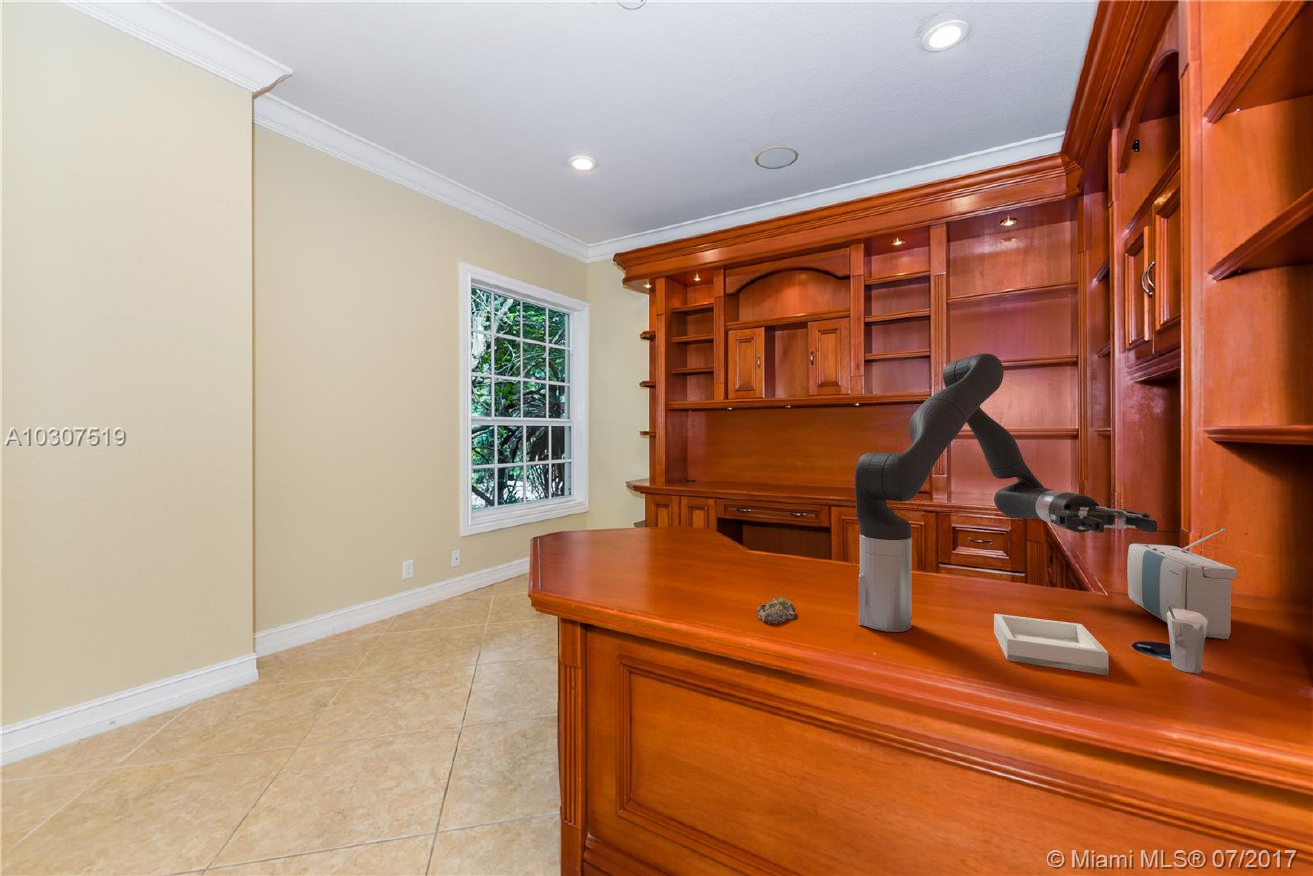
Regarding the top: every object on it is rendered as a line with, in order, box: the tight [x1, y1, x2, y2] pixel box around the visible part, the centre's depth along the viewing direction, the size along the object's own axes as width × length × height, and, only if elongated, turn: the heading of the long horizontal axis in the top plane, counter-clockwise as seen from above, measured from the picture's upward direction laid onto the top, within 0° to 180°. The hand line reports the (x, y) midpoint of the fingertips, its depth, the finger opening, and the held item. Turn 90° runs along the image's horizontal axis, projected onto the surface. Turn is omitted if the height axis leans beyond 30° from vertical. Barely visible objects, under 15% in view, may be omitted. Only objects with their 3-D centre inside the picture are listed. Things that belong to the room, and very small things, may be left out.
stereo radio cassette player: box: [1126, 527, 1238, 640], centre depth 103 cm, size 21×8×20 cm, turn 159°
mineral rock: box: [756, 596, 797, 625], centre depth 107 cm, size 11×4×8 cm
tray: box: [993, 613, 1109, 676], centre depth 89 cm, size 13×13×4 cm
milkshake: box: [1167, 606, 1208, 675], centre depth 82 cm, size 4×5×10 cm
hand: (1128, 526), depth 93 cm, fingers open, 8 cm apart
